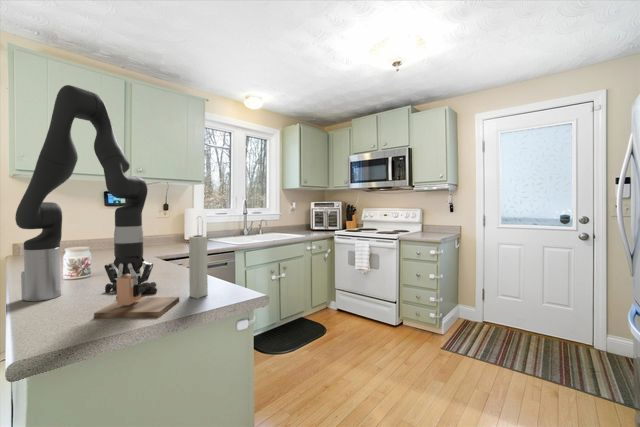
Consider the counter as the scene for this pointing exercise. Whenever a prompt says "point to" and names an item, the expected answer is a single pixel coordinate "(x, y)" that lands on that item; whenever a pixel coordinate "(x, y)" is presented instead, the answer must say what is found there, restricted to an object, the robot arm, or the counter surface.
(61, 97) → the robot arm
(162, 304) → the board
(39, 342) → the counter surface
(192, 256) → the paper towel roll
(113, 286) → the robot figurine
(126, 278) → the labeled cardboard box
